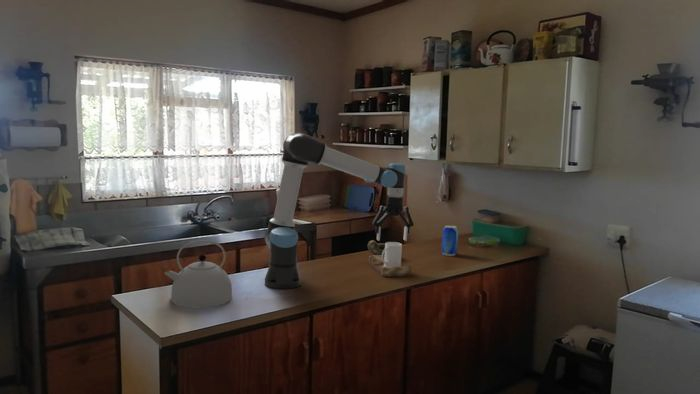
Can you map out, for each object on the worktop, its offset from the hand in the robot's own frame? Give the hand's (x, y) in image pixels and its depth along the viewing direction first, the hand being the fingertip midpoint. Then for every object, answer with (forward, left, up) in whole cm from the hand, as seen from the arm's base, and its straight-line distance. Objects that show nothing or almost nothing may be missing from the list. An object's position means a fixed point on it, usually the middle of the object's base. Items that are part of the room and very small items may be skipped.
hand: (391, 240), depth 243 cm
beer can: (+44, +28, -15) cm, 55 cm away
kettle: (-88, -29, -16) cm, 93 cm away
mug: (0, 0, -14) cm, 14 cm away
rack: (0, +2, -15) cm, 15 cm away
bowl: (+3, +24, -15) cm, 29 cm away
